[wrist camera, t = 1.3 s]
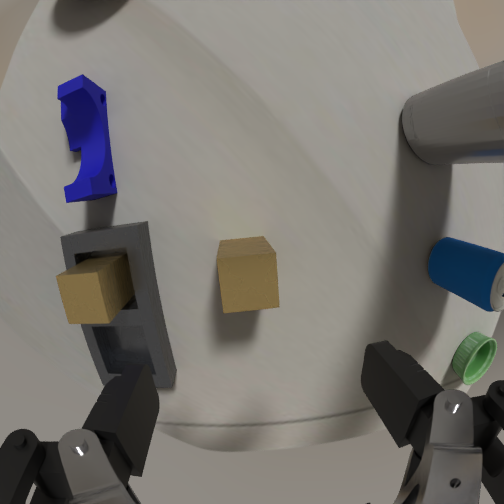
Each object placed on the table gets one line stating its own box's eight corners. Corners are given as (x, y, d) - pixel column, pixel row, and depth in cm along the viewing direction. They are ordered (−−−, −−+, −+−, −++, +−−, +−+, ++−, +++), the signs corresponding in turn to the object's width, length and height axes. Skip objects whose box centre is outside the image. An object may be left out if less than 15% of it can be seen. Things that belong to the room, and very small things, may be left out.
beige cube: (129, 251, 27) (97, 272, 20) (136, 291, 28) (109, 323, 20) (94, 255, 27) (56, 276, 19) (102, 293, 28) (68, 323, 20)
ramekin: (443, 378, 36) (456, 391, 32) (458, 333, 35) (474, 345, 30) (473, 366, 37) (486, 377, 33) (487, 324, 35) (502, 334, 31)
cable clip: (73, 105, 24) (46, 92, 18) (106, 92, 24) (82, 74, 18) (83, 203, 27) (54, 207, 21) (117, 193, 27) (92, 194, 21)
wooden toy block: (263, 236, 29) (275, 252, 21) (266, 277, 30) (279, 307, 22) (220, 240, 29) (216, 258, 21) (224, 281, 29) (223, 313, 22)
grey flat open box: (147, 221, 27) (136, 225, 24) (176, 370, 31) (172, 387, 28) (76, 231, 27) (60, 236, 24) (112, 369, 31) (103, 385, 27)
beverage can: (448, 285, 32) (507, 316, 20) (418, 280, 31) (481, 314, 20) (460, 241, 31) (524, 261, 19) (431, 231, 30) (500, 250, 18)
